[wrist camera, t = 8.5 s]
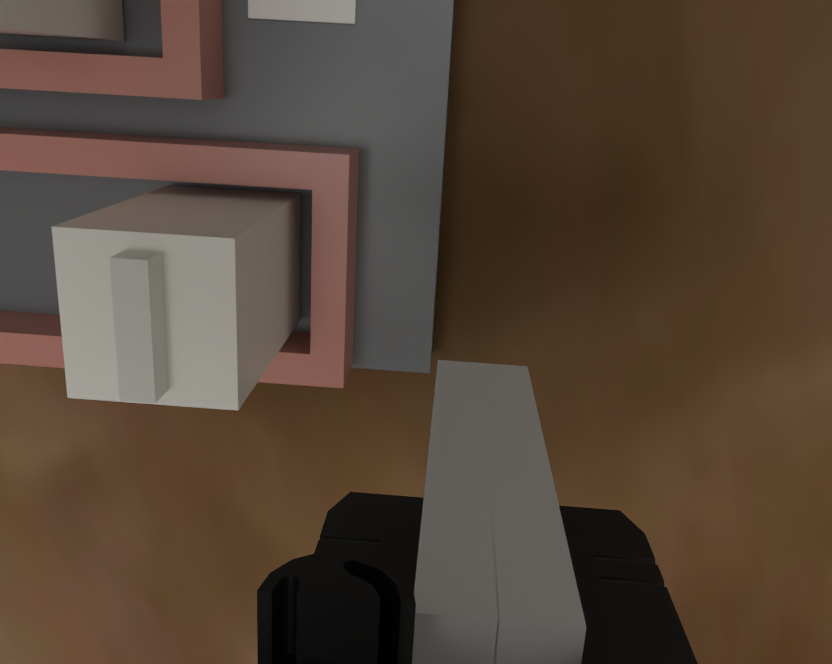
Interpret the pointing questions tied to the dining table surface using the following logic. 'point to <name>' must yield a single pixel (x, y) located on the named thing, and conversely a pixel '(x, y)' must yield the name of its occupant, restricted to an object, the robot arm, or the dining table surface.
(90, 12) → the tab inner
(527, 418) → the robot arm
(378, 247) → the switch bank
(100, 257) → the block
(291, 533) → the dining table surface
